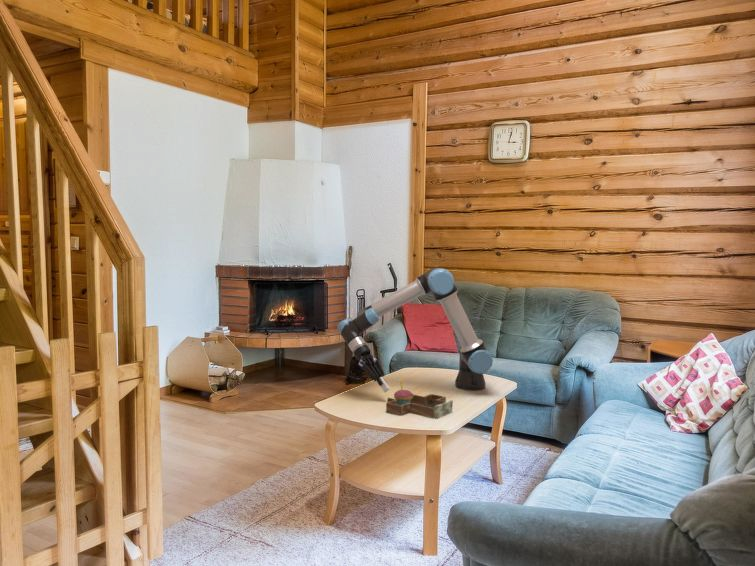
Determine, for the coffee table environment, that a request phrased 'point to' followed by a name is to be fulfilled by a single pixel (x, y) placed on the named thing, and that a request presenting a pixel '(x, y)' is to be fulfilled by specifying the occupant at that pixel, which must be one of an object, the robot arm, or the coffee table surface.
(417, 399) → the trap lane
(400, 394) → the cupcake
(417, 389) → the coffee table surface
